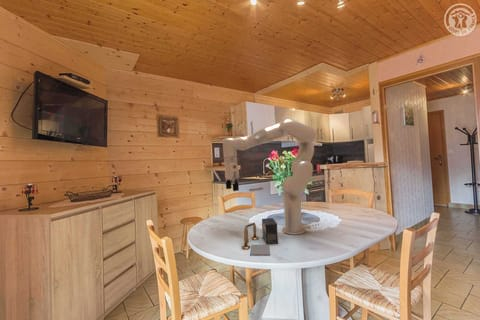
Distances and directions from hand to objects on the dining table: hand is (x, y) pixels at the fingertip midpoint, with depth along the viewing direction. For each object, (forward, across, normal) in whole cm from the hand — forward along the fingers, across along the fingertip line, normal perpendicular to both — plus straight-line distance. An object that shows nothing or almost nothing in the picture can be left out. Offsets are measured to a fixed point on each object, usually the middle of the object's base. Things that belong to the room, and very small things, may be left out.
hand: (232, 189), depth 130 cm
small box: (+27, -18, -12) cm, 34 cm away
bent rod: (+26, -16, -2) cm, 30 cm away
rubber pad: (+26, -26, -1) cm, 37 cm away
